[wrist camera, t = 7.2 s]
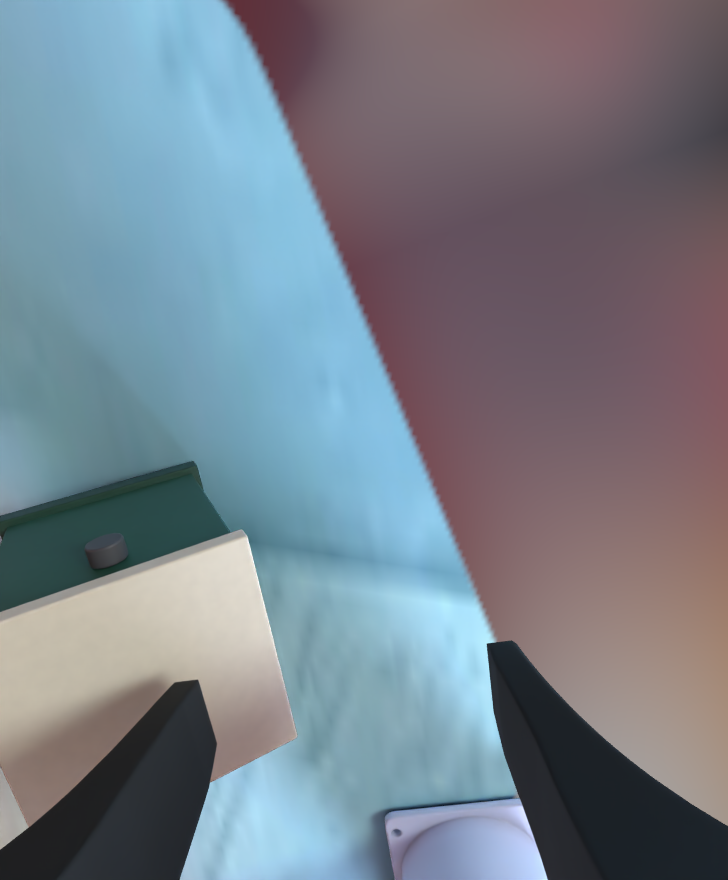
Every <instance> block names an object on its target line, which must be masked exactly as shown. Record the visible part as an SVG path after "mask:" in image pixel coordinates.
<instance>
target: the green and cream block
mask: <svg viewBox="0 0 728 880" xmlns="http://www.w3.org/2000/svg"><path fill="white" fill-rule="evenodd" d="M0 536H1V538H2V542H1V544H0V766H1V769H2V771H3V773H4V775H5V777H6V779H7V781H8V784H9V786H10V788H11V790H12V792H13V794H14V796H15V798H16V801H17V803H18V805H19V807H20V809H21V811H22V813H23V816H24V818H25V820H26V822H27V824H28V826H29V827H30V826H31V825H32V824H34V823H35V822H36V821H37V820H38V819H39V818H41V817H42V816H43V815H44V814H45V813H46V812H47V811H49V810H50V809H51V808H52V807H53V806H54V805H55V804H57V803H58V802H59V801H60V800H61V799H62V798H63V797H64V796H65V795H67V794H68V793H69V792H70V791H71V790H72V789H73V788H74V787H75V786H76V785H77V784H78V783H79V782H80V781H81V780H82V779H83V778H84V777H85V776H86V775H87V774H88V773H89V772H90V771H91V770H92V769H93V768H94V767H95V766H96V765H97V764H98V763H99V762H100V761H101V760H102V759H103V758H104V757H105V756H106V755H107V754H108V753H109V752H110V751H111V750H112V749H113V748H114V747H115V746H116V745H117V744H118V743H119V742H120V741H121V740H122V739H123V737H124V736H125V735H126V734H127V733H128V732H129V731H130V730H131V729H132V728H133V727H134V726H135V725H136V723H137V722H138V721H139V720H140V719H141V718H142V717H143V716H144V715H145V714H146V713H147V711H148V710H149V709H150V708H151V707H152V706H153V705H154V704H155V703H156V702H157V700H158V699H159V698H160V697H161V696H162V695H163V694H164V693H165V692H166V691H167V690H168V689H169V688H170V687H171V686H172V685H173V683H174V682H181V681H189V680H197V679H198V680H199V684H200V687H201V690H202V694H203V697H204V700H205V704H206V707H207V711H208V714H209V717H210V721H211V724H212V728H213V731H214V734H215V738H216V741H217V748H216V753H215V759H214V765H213V770H212V775H211V779H210V782H212V781H214V780H216V779H218V778H220V777H222V776H224V775H226V774H228V773H230V772H232V771H234V770H236V769H238V768H240V767H241V766H243V765H245V764H247V763H249V762H251V761H253V760H255V759H257V758H259V757H261V756H263V755H265V754H267V753H269V752H270V751H272V750H274V749H276V748H278V747H280V746H282V745H284V744H286V743H288V742H290V741H292V740H294V739H296V738H297V731H296V727H295V723H294V719H293V715H292V711H291V707H290V703H289V699H288V695H287V691H286V687H285V683H284V679H283V675H282V671H281V667H280V663H279V659H278V655H277V652H276V648H275V644H274V640H273V636H272V632H271V628H270V624H269V620H268V616H267V612H266V608H265V604H264V600H263V596H262V592H261V588H260V584H259V580H258V576H257V572H256V568H255V564H254V560H253V556H252V552H251V548H250V544H249V540H248V537H247V535H246V534H245V533H244V531H243V530H242V529H241V530H237V531H234V532H231V533H230V531H229V530H228V528H227V527H226V525H225V524H224V522H223V520H222V519H221V517H220V516H219V514H218V513H217V511H216V510H215V508H214V507H213V505H212V504H211V502H210V501H209V499H208V498H207V496H206V495H205V493H204V490H203V487H202V483H201V479H200V476H199V472H198V468H197V466H196V464H195V463H194V462H193V461H191V462H188V463H184V464H181V465H177V466H174V467H170V468H167V469H163V470H160V471H156V472H153V473H149V474H146V475H142V476H139V477H135V478H132V479H128V480H125V481H121V482H118V483H114V484H111V485H107V486H104V487H100V488H97V489H93V490H90V491H86V492H83V493H79V494H76V495H72V496H69V497H65V498H62V499H58V500H55V501H51V502H47V503H44V504H40V505H37V506H33V507H30V508H26V509H23V510H19V511H16V512H12V513H9V514H5V515H2V516H0Z"/></svg>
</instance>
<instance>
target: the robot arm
mask: <svg viewBox="0 0 728 880" xmlns="http://www.w3.org/2000/svg"><path fill="white" fill-rule="evenodd" d="M487 651H488V661H489V671H490V680H491V690H492V700H493V709H494V715H495V719H496V723H497V727H498V731H499V735H500V739H501V743H502V747H503V751H504V755H505V758H506V761H507V764H508V767H509V769H510V772H511V775H512V778H513V781H514V784H515V786H516V789H517V792H518V795H519V798H516V799H507V800H497V801H487V802H478V803H468V804H459V805H449V806H440V807H430V808H420V809H411V810H401V811H393V812H390V813H388V814H387V815H386V816H385V829H386V834H387V840H388V845H389V850H390V856H391V861H392V867H393V872H394V878H395V880H728V826H727V825H725V824H723V823H721V822H720V821H718V820H716V819H715V818H713V817H711V816H710V815H708V814H707V813H705V812H703V811H702V810H700V809H699V808H697V807H695V806H694V805H692V804H690V803H689V802H688V801H686V800H685V799H683V798H682V797H680V796H679V795H677V794H676V793H674V792H673V791H671V790H670V789H668V788H667V787H666V786H664V785H663V784H661V783H660V782H658V781H657V780H655V779H654V778H653V777H651V776H650V775H649V774H647V773H646V772H645V771H643V770H642V769H640V768H639V767H638V766H637V765H636V764H634V763H633V762H632V761H630V760H629V759H628V758H627V757H625V756H624V755H623V754H622V753H621V752H619V751H618V750H617V749H616V748H615V747H613V746H612V745H611V744H610V743H609V742H608V741H606V740H605V739H604V738H603V737H602V736H601V735H600V734H598V733H597V732H596V731H595V730H594V729H593V728H592V727H591V726H590V725H589V724H588V723H587V722H586V721H585V720H584V719H583V718H581V717H580V716H579V715H578V714H577V713H576V712H575V711H574V710H573V709H572V708H571V707H570V706H569V705H568V704H567V703H566V702H565V700H564V699H563V698H562V697H561V696H560V695H559V694H558V693H557V692H556V691H555V690H554V689H553V688H552V687H551V686H550V684H549V683H548V682H547V681H546V680H545V679H544V678H543V677H542V675H541V674H540V673H539V672H538V671H537V669H536V668H535V667H534V666H533V665H532V663H531V662H530V661H529V660H528V658H527V657H526V656H525V655H524V653H523V652H522V651H521V649H520V648H519V647H518V645H517V644H516V643H515V642H513V641H505V642H496V643H488V644H487ZM216 748H217V741H216V738H215V734H214V731H213V728H212V724H211V721H210V717H209V714H208V711H207V707H206V704H205V700H204V697H203V694H202V690H201V687H200V684H199V680H198V679H197V680H189V681H181V682H174V683H173V685H172V686H171V687H170V688H169V689H168V690H167V691H166V692H165V693H164V694H163V695H162V696H161V697H160V698H159V699H158V700H157V702H156V703H155V704H154V705H153V706H152V707H151V708H150V709H149V710H148V711H147V713H146V714H145V715H144V716H143V717H142V718H141V719H140V720H139V721H138V722H137V723H136V725H135V726H134V727H133V728H132V729H131V730H130V731H129V732H128V733H127V734H126V735H125V736H124V737H123V739H122V740H121V741H120V742H119V743H118V744H117V745H116V746H115V747H114V748H113V749H112V750H111V751H110V752H109V753H108V754H107V755H106V756H105V757H104V758H103V759H102V760H101V761H100V762H99V763H98V764H97V765H96V766H95V767H94V768H93V769H92V770H91V771H90V772H89V773H88V774H87V775H86V776H85V777H84V778H83V779H82V780H81V781H80V782H79V783H78V784H77V785H76V786H75V787H74V788H73V789H72V790H71V791H70V792H69V793H68V794H67V795H65V796H64V797H63V798H62V799H61V800H60V801H59V802H58V803H57V804H55V805H54V806H53V807H52V808H51V809H50V810H49V811H47V812H46V813H45V814H44V815H43V816H42V817H41V818H39V819H38V820H37V821H36V822H35V823H34V824H32V825H31V826H30V827H29V828H28V829H26V830H25V831H24V832H23V833H21V834H20V835H19V836H17V837H16V838H15V839H14V840H12V841H11V842H10V843H8V844H7V845H6V846H5V847H3V848H2V849H1V850H0V880H180V876H181V873H182V870H183V867H184V864H185V861H186V858H187V855H188V852H189V849H190V846H191V842H192V839H193V836H194V833H195V830H196V827H197V824H198V821H199V818H200V814H201V811H202V808H203V805H204V802H205V798H206V795H207V792H208V789H209V784H210V779H211V775H212V770H213V765H214V759H215V753H216Z"/></svg>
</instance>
